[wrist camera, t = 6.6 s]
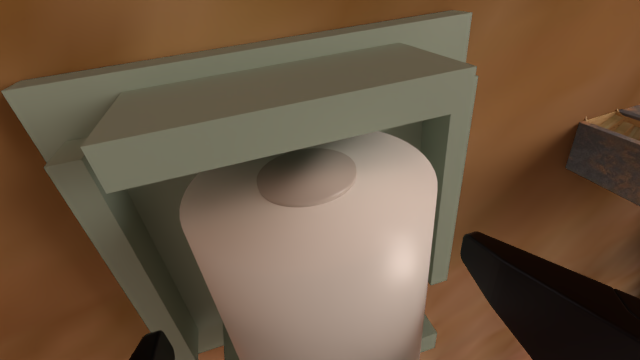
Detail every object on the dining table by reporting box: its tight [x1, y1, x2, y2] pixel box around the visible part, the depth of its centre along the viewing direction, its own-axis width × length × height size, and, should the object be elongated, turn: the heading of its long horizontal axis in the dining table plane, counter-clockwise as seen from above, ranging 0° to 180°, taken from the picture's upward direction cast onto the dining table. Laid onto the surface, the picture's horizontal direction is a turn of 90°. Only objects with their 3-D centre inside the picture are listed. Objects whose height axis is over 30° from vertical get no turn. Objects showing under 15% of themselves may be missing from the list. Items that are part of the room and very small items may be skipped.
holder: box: [1, 10, 478, 360], centre depth 11 cm, size 12×13×4 cm
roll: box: [179, 131, 437, 360], centre depth 10 cm, size 7×6×6 cm
